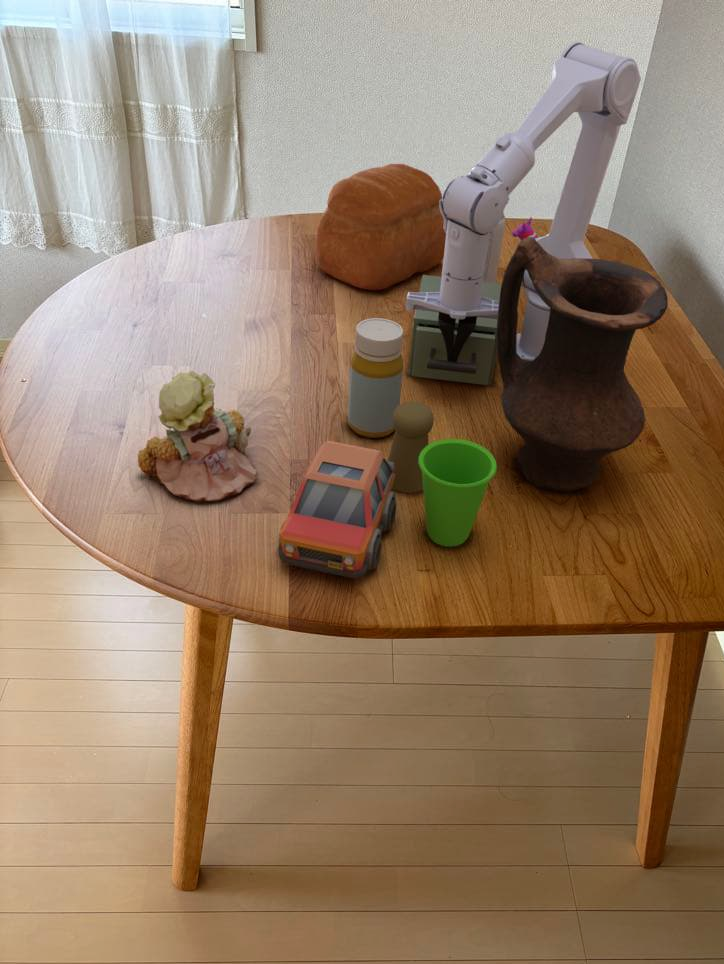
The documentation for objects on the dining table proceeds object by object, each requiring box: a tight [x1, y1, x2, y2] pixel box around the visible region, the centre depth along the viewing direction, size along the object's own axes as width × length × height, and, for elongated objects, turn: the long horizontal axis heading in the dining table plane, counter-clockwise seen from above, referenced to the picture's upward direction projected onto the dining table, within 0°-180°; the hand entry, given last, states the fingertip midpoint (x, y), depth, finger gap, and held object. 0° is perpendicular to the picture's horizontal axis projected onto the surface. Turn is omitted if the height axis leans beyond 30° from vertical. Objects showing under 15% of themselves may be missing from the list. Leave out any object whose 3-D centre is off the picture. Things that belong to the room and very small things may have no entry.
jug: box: [496, 237, 669, 493], centre depth 114 cm, size 21×18×30 cm
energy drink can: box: [483, 212, 507, 283], centre depth 157 cm, size 6×6×15 cm
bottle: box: [347, 317, 404, 439], centre depth 123 cm, size 7×7×15 cm
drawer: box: [411, 324, 495, 386], centre depth 137 cm, size 18×11×8 cm, turn 174°
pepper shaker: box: [387, 400, 435, 494], centre depth 115 cm, size 6×6×11 cm
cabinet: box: [408, 274, 502, 386], centre depth 141 cm, size 15×13×10 cm
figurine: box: [137, 370, 258, 503], centre depth 112 cm, size 15×14×15 cm
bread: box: [314, 163, 446, 291], centre depth 160 cm, size 18×21×17 cm
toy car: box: [277, 439, 397, 579], centre depth 106 cm, size 12×17×10 cm
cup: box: [418, 438, 498, 548], centre depth 108 cm, size 9×9×11 cm
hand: (452, 359), depth 131 cm, fingers closed, pressing on drawer
